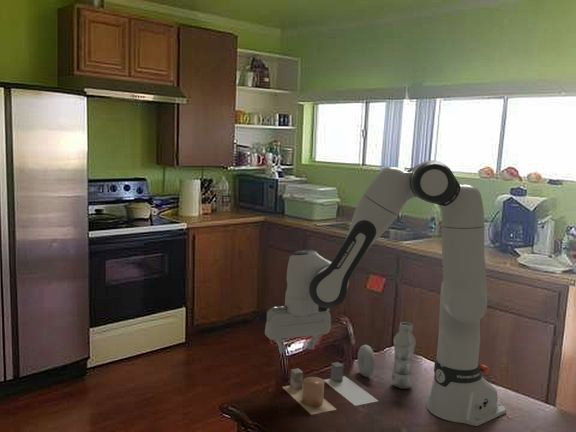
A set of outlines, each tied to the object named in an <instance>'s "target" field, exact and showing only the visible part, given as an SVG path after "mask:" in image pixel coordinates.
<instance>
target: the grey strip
mask: <svg viewBox="0 0 576 432" xmlns="http://www.w3.org/2000/svg"><path fill="white" fill-rule="evenodd" d="M323 380H324V383H326V384H328V386H330V387H331V388H332V389H333V390H335V392H336V393H338V394H340V395H341V396H342V397H343V398H345V399H346V400H347V401H348V402H350V403H351V404H352V405H354V406H355V407H356V406H360V405H366V404H367V405H368V404H371V403H377V402H379V400H378V399H377V398H375V397H374V396H373V395H371V394H370V393H369V392H368V391H366V390H365V389H363V388H362V387H361V386H359V385H358V384H356V383H355V382H354V381H352V380H350V379H349V377H347V376H345V375H344V365H343V364H342V363H340V362H339V361H337V362H331V366H330V378H327V379H326V378H325V379H323Z"/></svg>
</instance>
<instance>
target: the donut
mask: <svg viewBox="0 0 576 432" xmlns="http://www.w3.org/2000/svg"><path fill="white" fill-rule="evenodd" d="M375 362H376V359H375V354H374V350H373V349H372V347H371V346H370V345H368V344H364V345H361V346H360V348H359V349H358V353H357V366H358V370H359V373H360V374H361V376H363V377H365V378H368V377H371V376H372V375H373V374H374V371H375V366H376V365H375V364H376V363H375Z"/></svg>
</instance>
